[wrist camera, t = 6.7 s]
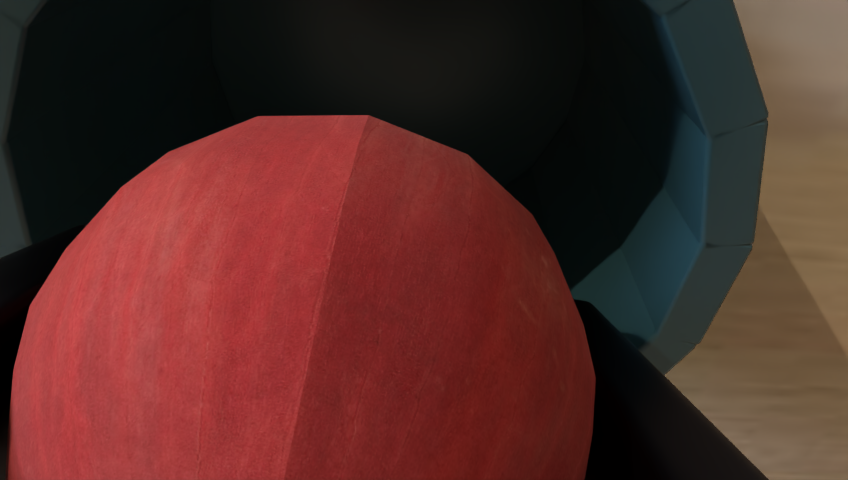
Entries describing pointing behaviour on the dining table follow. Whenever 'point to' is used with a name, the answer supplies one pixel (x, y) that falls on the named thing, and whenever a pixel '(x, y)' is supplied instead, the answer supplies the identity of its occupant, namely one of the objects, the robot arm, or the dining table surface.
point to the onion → (305, 321)
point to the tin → (424, 119)
